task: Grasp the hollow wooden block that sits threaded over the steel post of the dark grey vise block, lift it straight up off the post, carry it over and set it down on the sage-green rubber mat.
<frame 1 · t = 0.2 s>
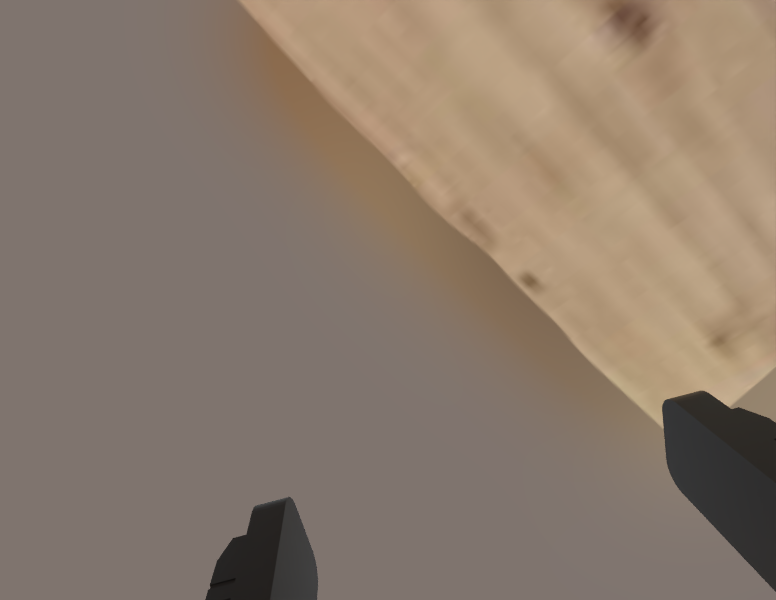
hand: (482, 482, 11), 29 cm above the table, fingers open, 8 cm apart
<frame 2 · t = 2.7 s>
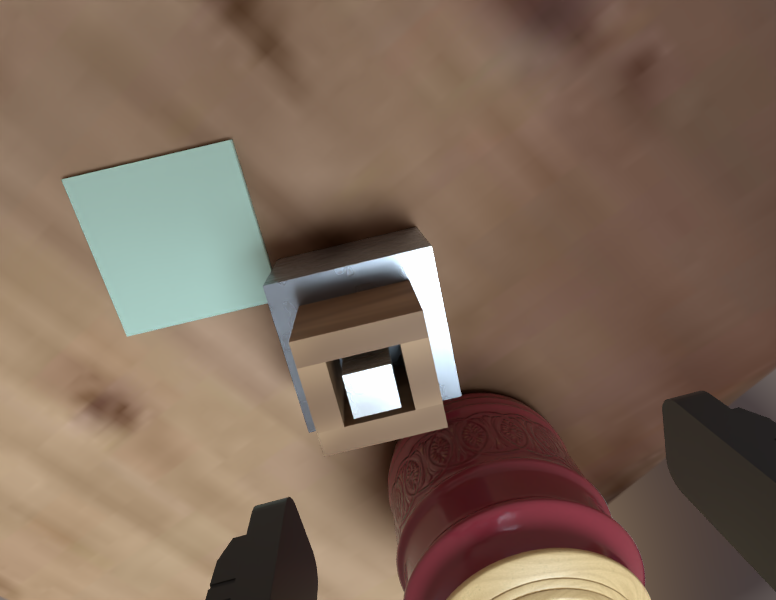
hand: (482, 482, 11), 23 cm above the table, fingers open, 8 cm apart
canister: (471, 464, 38), on the table
vise block: (363, 308, 33), on the table
hollow wooden block: (367, 344, 28), point 6 cm above the table, touching vise block
mat: (178, 241, 31), on the table
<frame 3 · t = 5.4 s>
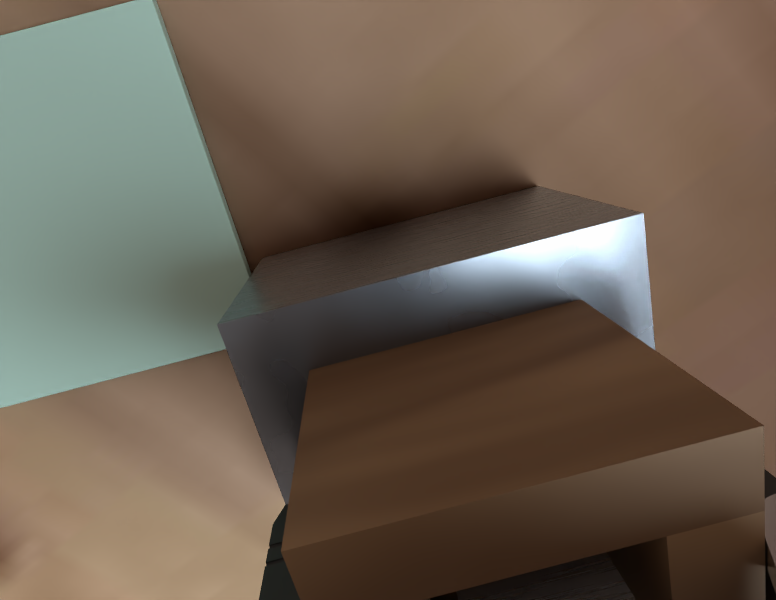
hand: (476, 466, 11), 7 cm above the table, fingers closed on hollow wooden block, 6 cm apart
vise block: (430, 348, 18), on the table
hollow wooden block: (471, 450, 12), point 6 cm above the table, touching gripper, vise block
mat: (59, 225, 15), on the table
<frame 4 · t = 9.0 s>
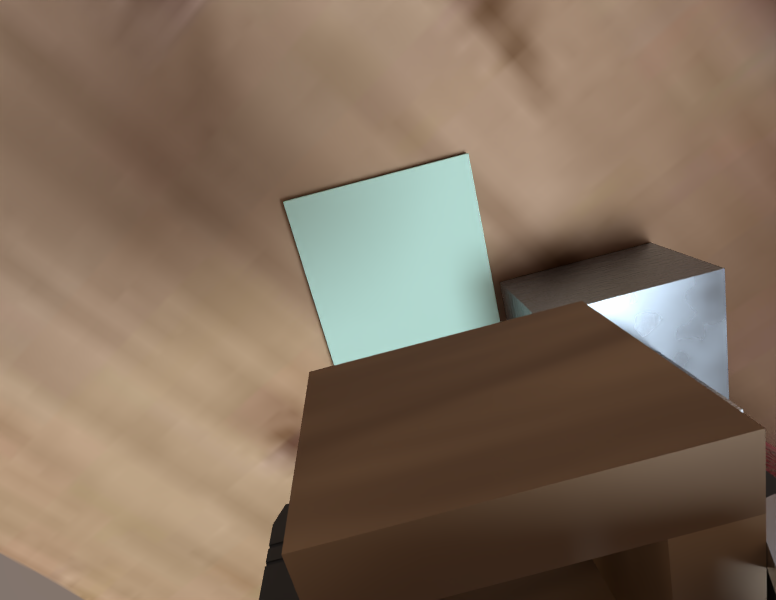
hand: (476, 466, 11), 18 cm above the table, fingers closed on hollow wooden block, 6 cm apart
vise block: (584, 332, 31), on the table
hollow wooden block: (472, 452, 12), point 18 cm above the table, touching gripper
mat: (397, 265, 29), on the table
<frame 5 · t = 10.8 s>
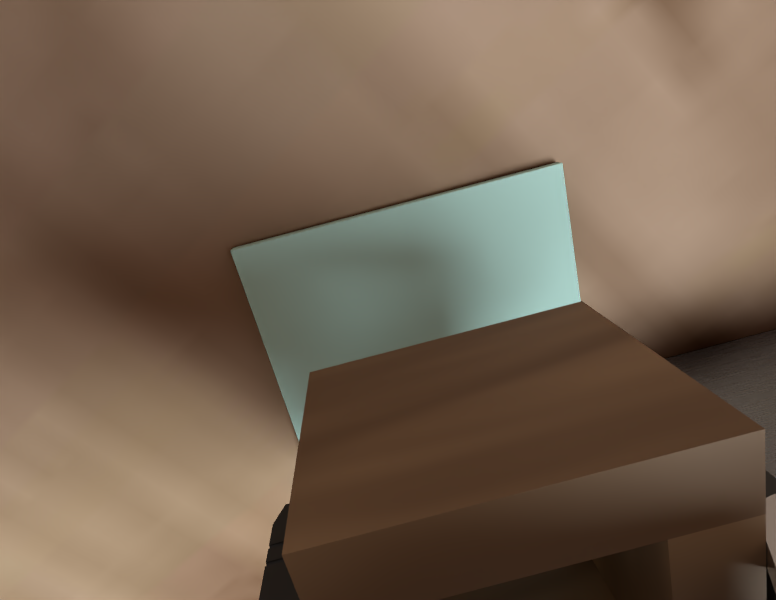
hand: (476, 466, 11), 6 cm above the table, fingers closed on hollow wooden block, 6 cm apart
vise block: (729, 449, 19), on the table
hollow wooden block: (472, 452, 12), point 5 cm above the table, touching gripper
mat: (431, 352, 17), on the table
when the fingers open (3 cm above the table, at t = 12.6 s): hollow wooden block drops 2 cm, resting on mat.
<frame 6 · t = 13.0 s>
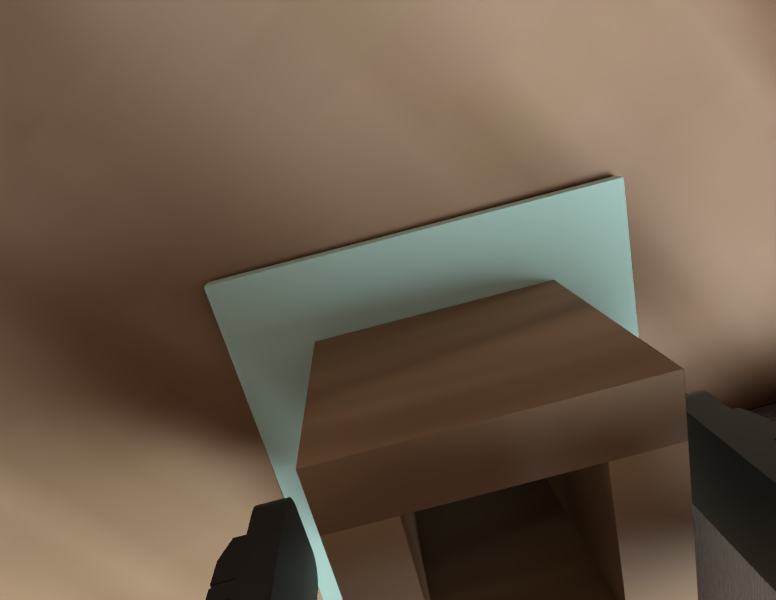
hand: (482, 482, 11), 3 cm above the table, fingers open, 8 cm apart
hollow wooden block: (458, 415, 13), resting on mat
mat: (453, 407, 14), on the table
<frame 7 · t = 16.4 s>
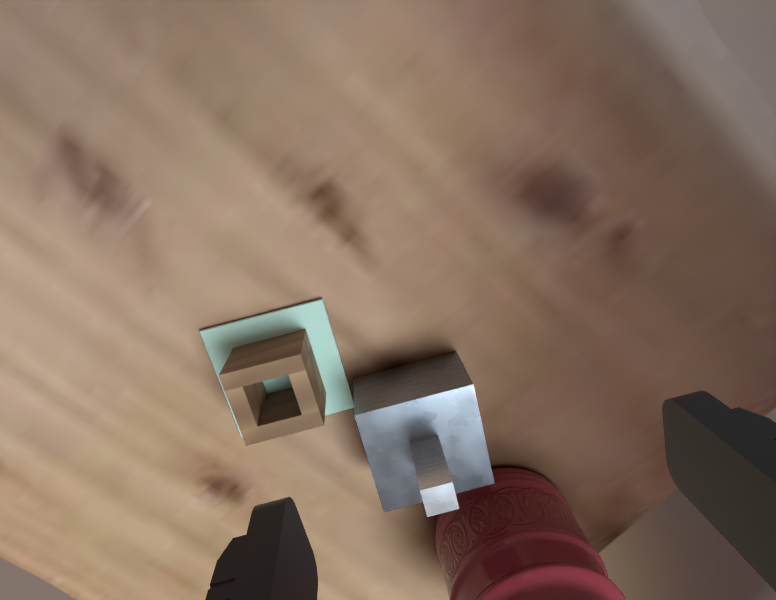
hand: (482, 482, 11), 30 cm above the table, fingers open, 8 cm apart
canister: (498, 519, 49), on the table
vise block: (416, 410, 44), on the table
hollow wooden block: (280, 371, 42), resting on mat
mat: (280, 369, 42), on the table
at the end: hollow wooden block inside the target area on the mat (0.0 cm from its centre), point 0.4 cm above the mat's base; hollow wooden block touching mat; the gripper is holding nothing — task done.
